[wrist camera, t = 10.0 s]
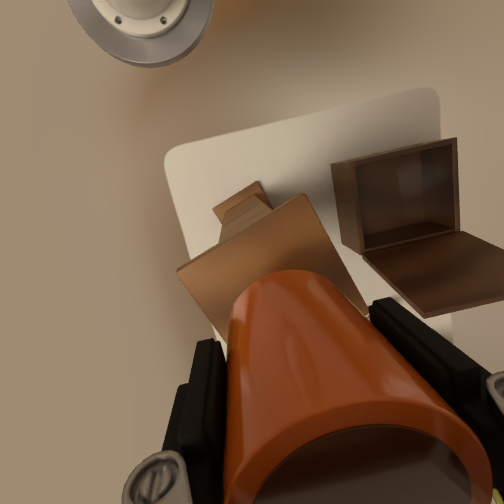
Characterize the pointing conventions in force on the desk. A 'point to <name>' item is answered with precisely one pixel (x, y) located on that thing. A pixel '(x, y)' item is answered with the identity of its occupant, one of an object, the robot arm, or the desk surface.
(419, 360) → the robot arm
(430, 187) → the box
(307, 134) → the desk surface
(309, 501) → the orange cup
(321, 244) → the cup stand
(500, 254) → the lid
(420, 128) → the desk surface
